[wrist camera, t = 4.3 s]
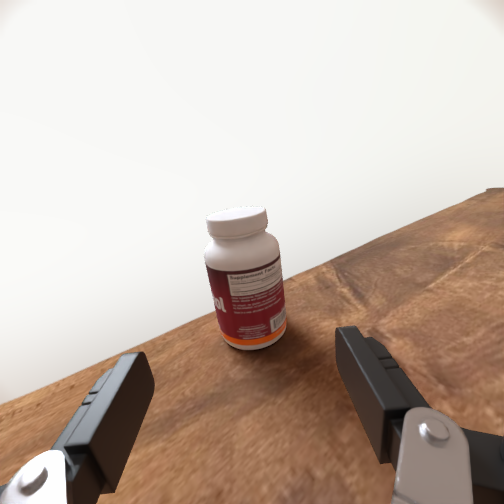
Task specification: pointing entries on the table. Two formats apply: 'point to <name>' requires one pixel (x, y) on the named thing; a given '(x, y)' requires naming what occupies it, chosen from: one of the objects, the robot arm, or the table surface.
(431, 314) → the table surface
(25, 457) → the table surface
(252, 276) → the pill bottle
